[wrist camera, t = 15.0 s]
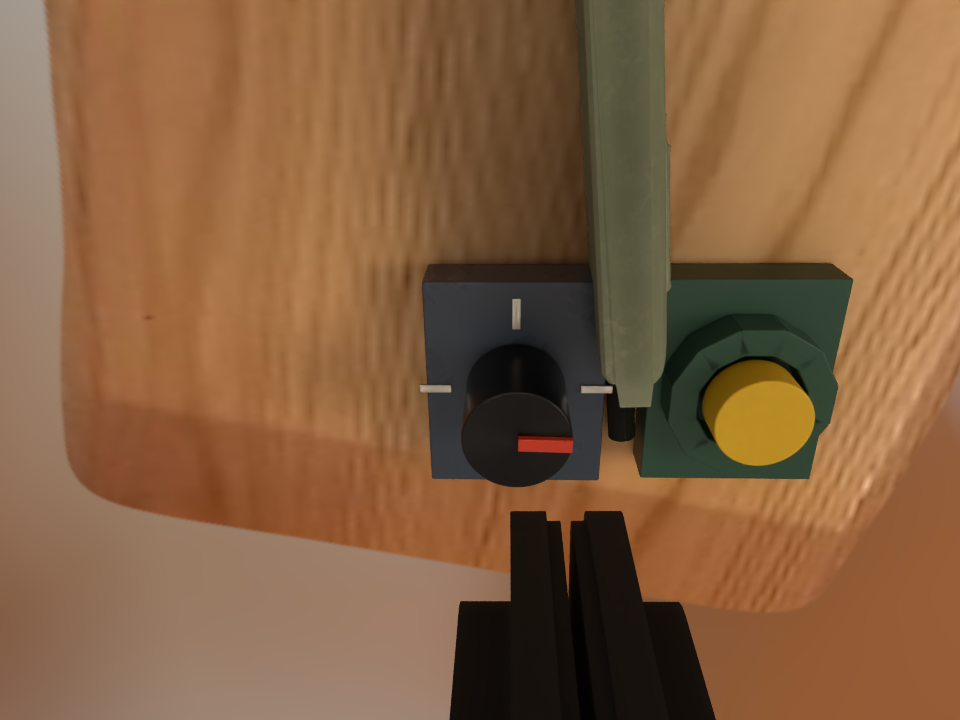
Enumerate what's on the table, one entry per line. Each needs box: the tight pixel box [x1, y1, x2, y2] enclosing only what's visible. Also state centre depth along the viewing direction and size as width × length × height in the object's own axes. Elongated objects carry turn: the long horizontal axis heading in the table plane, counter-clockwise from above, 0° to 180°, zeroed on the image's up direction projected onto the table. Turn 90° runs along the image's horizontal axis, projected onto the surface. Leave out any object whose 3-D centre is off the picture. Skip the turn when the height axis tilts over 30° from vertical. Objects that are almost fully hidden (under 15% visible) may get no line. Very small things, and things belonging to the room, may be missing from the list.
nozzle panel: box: [420, 264, 613, 480], centre depth 33 cm, size 10×9×3 cm
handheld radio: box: [575, 0, 671, 442], centre depth 28 cm, size 7×3×25 cm
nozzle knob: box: [461, 344, 573, 487], centre depth 30 cm, size 4×4×5 cm
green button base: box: [633, 264, 853, 479], centre depth 32 cm, size 10×8×4 cm
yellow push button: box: [702, 360, 815, 466], centre depth 29 cm, size 4×4×2 cm
